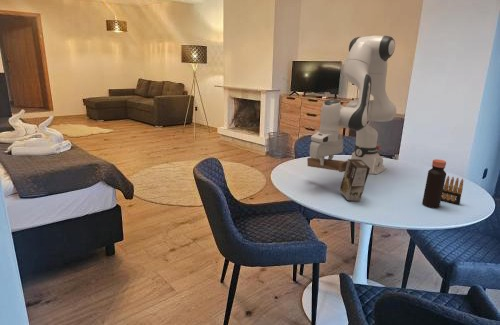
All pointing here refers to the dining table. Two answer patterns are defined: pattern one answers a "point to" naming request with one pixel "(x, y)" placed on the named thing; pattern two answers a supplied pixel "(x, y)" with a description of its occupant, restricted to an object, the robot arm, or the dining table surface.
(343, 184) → the coffee box
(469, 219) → the dining table surface
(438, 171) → the bottle
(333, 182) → the dining table surface
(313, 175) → the dining table surface
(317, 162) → the walnut pusher
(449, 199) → the ammunition clip
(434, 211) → the dining table surface
